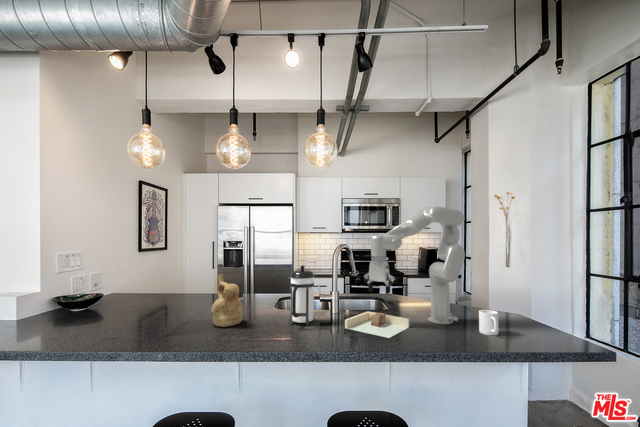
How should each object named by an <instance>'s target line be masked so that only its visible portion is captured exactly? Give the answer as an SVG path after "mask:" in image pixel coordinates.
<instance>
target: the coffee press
mask: <svg viewBox="0 0 640 427" xmlns="http://www.w3.org/2000/svg"><path fill="white" fill-rule="evenodd" d="M314 279H315V274H314V272H313V271H311V270H308V269H306V268H305V266H304V265H300V269H298V270H294V271H292V272H291V273H290V319H289V321H288V325H290V326H291V325H293V324H294V323H300V324H301V323H303V324H305V326H306V327H309V326H310V322H316V318H315V317H314V313H315V312H314V309H315V306H314V301H315V300H314V299H315V298H314V297H315V296H314V293H315V290H314V289H315V287H314V286H315V280H314Z"/></svg>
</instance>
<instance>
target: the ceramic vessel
mask: <svg viewBox="0 0 640 427" xmlns="http://www.w3.org/2000/svg"><path fill="white" fill-rule="evenodd" d="M217 279H218V281H217V282H218V284H217V290H216V291H217V297H218V298H217V299H216V300H214V303H213V304H212V305H211V311H210V313H211V314H212V322H213V325H214V326H216V327H221V328H227V327H231V326H236V325H240V323H241V322H242V320H243V313H242V311H243V308H244V307H243V303H242V300H241V299H240V298H239V296H240V294H239V293H240V288H239V286H238V285H237V284H235V283H227V282H225V279H224V274H223V273H220V274H217Z"/></svg>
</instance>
